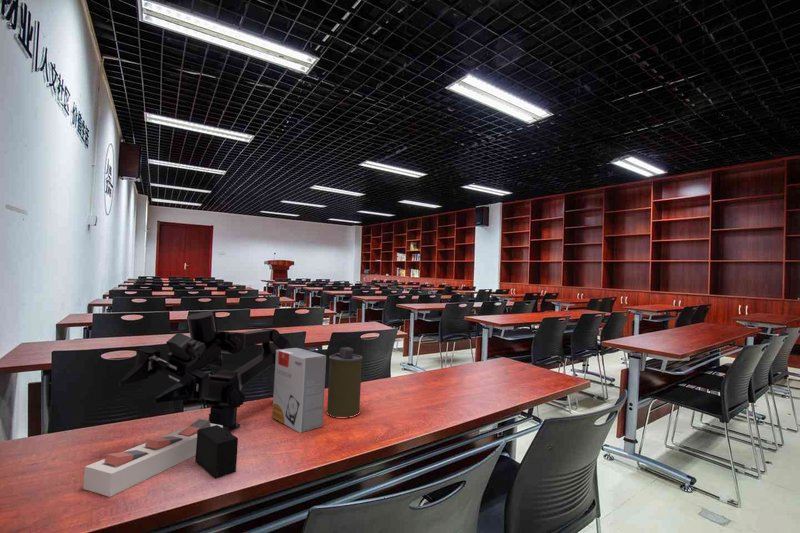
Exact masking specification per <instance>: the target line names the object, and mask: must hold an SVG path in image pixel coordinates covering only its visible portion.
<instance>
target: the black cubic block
mask: <svg viewBox="0 0 800 533" xmlns="http://www.w3.org/2000/svg"><path fill="white" fill-rule="evenodd" d="M238 444H239V437H237V436H235V435H234V434H233V433H232V432H231V431H230V429H229V428H228V427H223V428H221V427H220V426H218V425H215V426H211V427H207V428H202V429H198V431H197V444H196V455H195V461H194V462H195V463H196V464H197V465H198V466H199V467H200V468H201V469H203V470H204V471H205V472H206V473H207V474H208V475H210V476H211V477H212V478H213V479H214V480H217V479H219V478H222V477H225V476H229V475H231V474H234V473H236V472H237V463H238V461H237V460H238V459H237V458H238V448H239V447H238Z"/></svg>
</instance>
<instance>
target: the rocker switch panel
mask: <svg viewBox="0 0 800 533" xmlns="http://www.w3.org/2000/svg"><path fill="white" fill-rule="evenodd" d="M215 425H217V424H212V423H210V427H211V426H215ZM218 426H220V427H221V428H223V426H222V425H218ZM187 427H188V426H185V427H183V428H181V429H178V430H175V431H173V432H170V433H167V434H165V435H162V436H161V437H167V436H174V437H178V438H182V440H180V441H178V442H176V443H173V444H171V445H168V446H166V447H164V448H158V449H155V448H151V447H147V446H145V445H146V442H145V443H142V444H139V445H137V446H134V447H132V448H129V449H126V450H124V451H123V452H126V451H133V450H138V451H142V452H147V453H148V454H147V455H145V456H142V457H140V458H138V459H135V460H133V461H131V462H128V463H126V464H122V465H112V464H108V463H105V462H104V461H105V458H104V459H101V460H98V461H96V462H93V463H90V464H87V465H86V466H84V477H83V478H84V479H83V485H82V486H83V488H82V489H83V490H87V491H89V492H93V493H95V494H98V495H103V496H105V497H108V498H111V497H112V496H115V495H117V494H118V493H121V492H123V491H125V490H127V489H129V488H131V487H133V486H136V485H137V484H140V483H142V482H143V481H145V480H148V479H149V478H150V479H151V477H154V476H155V475H158V474H160V473H162V472H164V471H167V470H168V469H170V468H172V467H174V466H176V465H178V464H181V463H183V462H185V461H186V460H189V459H191V458H193V457H196V444H197V434H195V435H192V436H190V437H188V436H183V435H178V433H179V432H181V431H182V430H184V429H185V428H187Z"/></svg>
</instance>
